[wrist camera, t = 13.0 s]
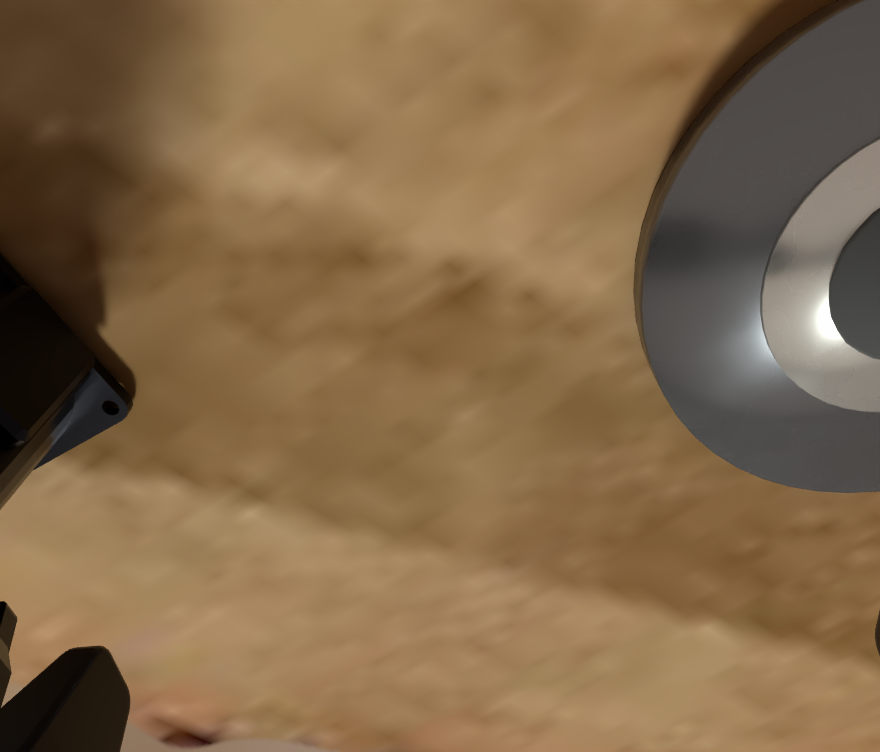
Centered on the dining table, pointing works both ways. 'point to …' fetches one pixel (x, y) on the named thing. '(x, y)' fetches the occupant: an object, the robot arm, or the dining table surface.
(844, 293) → the sundae
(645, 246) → the plate
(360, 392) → the dining table surface
